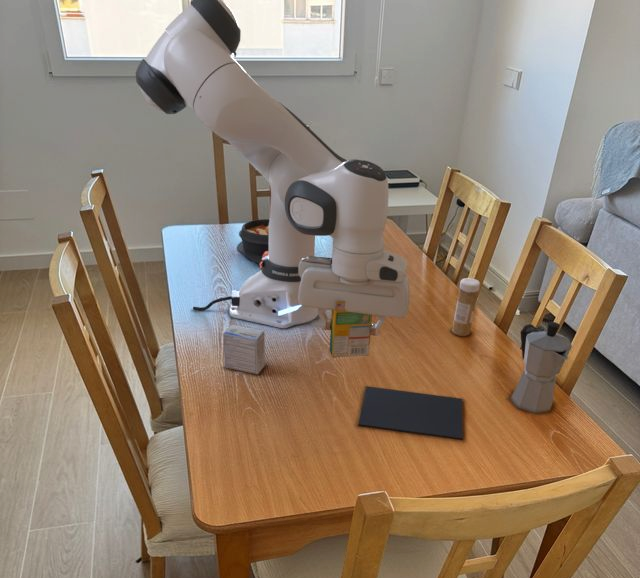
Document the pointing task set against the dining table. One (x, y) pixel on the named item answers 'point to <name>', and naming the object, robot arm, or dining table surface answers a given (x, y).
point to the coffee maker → (540, 366)
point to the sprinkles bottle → (465, 306)
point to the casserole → (254, 239)
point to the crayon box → (349, 332)
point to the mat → (412, 413)
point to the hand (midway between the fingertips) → (350, 331)
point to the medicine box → (244, 349)
